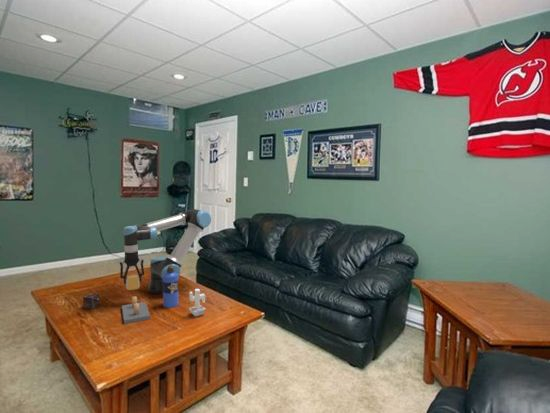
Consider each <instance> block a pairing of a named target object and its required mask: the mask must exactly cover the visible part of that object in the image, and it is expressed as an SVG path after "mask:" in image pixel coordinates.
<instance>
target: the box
mask: <svg viewBox="0 0 550 413" xmlns="http://www.w3.org/2000/svg"><path fill="white" fill-rule="evenodd" d="M82 300H83V301H82V303H83V309H84V308H86V309H85V310H94V309H95V307H96V308H98V307H100V294H97V293H89V294H87V295H85V296H83V297H82ZM97 306H98V307H97ZM93 308H94V309H93Z"/></svg>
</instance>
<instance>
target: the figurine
mask: <svg viewBox="0 0 550 413" xmlns="http://www.w3.org/2000/svg"><path fill="white" fill-rule="evenodd" d="M188 294H189V296H188V297H189V299H188V300H189V301H190V302H194V306H192V307H190V306H189V307H188V309H189V311H190V313H191V315H192V316H194V317H201V316H203V315H204V313H205V311H206V310H207V308H206V307H204V306H203V305H201V303H200V300H201V302H202V303H203V304H204V303H205V302H206V295H205V293H201V289H199V288H195V289H194V294H193V292H192V291H189V293H188Z"/></svg>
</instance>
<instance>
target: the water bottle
mask: <svg viewBox="0 0 550 413" xmlns="http://www.w3.org/2000/svg"><path fill="white" fill-rule="evenodd" d="M167 268H168V269H167V273H166V274H164V275H163V285H164V289H163V293H162V303H163V304H162V306H163V307H164V308H165V309H166V308H168V309H172V308H175V307H176V308H177V307H178V306H179V287H178V284H179V277H178V274H177V273H174V269H173V268H174V267H173V266H172V265H170V266H168V267H167Z"/></svg>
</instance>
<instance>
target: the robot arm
mask: <svg viewBox="0 0 550 413" xmlns="http://www.w3.org/2000/svg"><path fill="white" fill-rule="evenodd" d="M211 223H212V216H211V214H210V213H209V212H208V211H206V210H204V209H198V208H194V209H189V210H186V211H185V210H184V211H182V212H179V213H178V214H176V215H173V216H168V217H165V218H161V219H158V220H154V221H150V222H146V223H143V224H135V225H129V226H125V227H124V228H123V241H124V242H123V245H124V260H122V261H119V266H120V269H119V270H120V274H119V276H120V279H122V280H123V284H124V285H125V290H128V283H127V275H128V273H129V269H130V267H135V270H136V273H137V274H138V284H139V288H140V286H141V284H140V282H142V276H144V275H145V270H144V263H145V261H144V258H141V259H140V257H139V251H138V250H139V246H138V243H139V242H140V241H146V240H148V241H149V240H153V239H156V238H157V237H158V232H161V231H164V230H167V229H171V228H174V227H178V226H186V225H188V226H187V228H186V229H185V231H184V233H183V234H182V236H181V238H180V239H179V241H178V242H177V244H176V245H175V247H174V249H173V251H172V252H171V253H170V256H159V257H154V258H151V259H150V264H149V270H150V272H149V273H150V275H149V276H150V281H149V284H148V287H147V291H148V293H151V294H161V293H162V294H163V289H164V285H163V275H164V274H166V273H167V269H168V268H167V267H168V266H170V265H172V266H173V267H174V268H173V269H174V273H177V274H178V278H179V276H180V275H181V268H182V266H183V264H182V261H183V260H184V258H185V256H186V255H187V253H188V251H189V249H190V248H191V247H192V245H193V243H194V242H195V240H196V238H197V237H198V235H199V233H201V232H203V230H204V229H205V228H207V227H209V226H210V225H211ZM138 263H139V264H140V269H141V270H140V269H139V267H138ZM125 265H126V268H125V271H124V266H125ZM140 271H141V272H140Z"/></svg>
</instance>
